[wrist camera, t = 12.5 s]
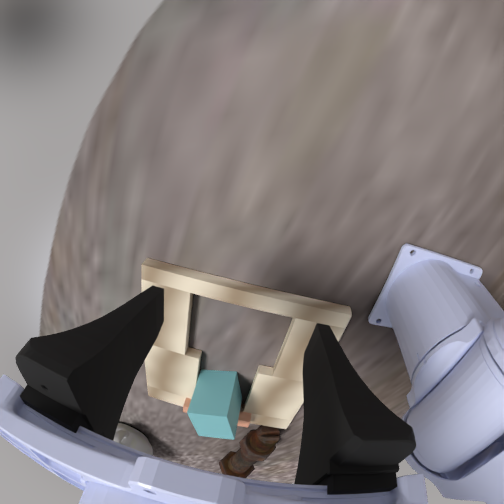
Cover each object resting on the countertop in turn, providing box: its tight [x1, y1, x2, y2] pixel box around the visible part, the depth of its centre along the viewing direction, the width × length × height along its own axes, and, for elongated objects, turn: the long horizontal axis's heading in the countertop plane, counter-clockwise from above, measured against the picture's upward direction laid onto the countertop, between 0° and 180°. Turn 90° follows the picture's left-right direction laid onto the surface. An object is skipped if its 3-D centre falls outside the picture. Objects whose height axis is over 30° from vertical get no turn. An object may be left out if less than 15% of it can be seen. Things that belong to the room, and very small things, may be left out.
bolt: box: [219, 425, 280, 478], centre depth 36 cm, size 6×5×15 cm
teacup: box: [113, 423, 153, 456], centre depth 39 cm, size 14×11×8 cm
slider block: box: [187, 370, 242, 439], centre depth 29 cm, size 4×5×6 cm
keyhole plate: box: [142, 258, 352, 429], centre depth 28 cm, size 18×20×2 cm
